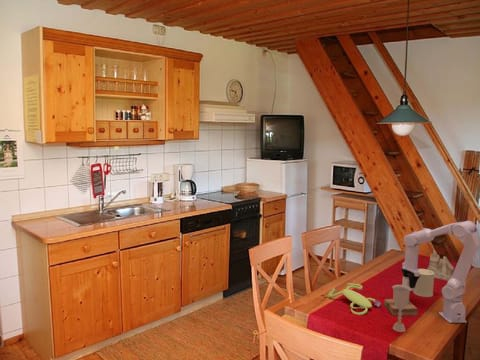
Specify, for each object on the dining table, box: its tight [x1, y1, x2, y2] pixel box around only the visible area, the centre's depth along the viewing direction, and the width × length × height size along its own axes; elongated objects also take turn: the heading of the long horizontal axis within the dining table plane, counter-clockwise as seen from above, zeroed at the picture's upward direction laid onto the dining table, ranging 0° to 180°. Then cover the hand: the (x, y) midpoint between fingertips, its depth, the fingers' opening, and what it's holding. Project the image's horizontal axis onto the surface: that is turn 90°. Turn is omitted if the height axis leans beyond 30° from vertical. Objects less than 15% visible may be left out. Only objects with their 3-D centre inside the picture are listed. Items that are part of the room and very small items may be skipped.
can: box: [413, 268, 435, 298], centre depth 216 cm, size 9×9×12 cm
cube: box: [401, 276, 417, 292], centre depth 205 cm, size 5×5×5 cm
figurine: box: [327, 282, 382, 316], centre depth 205 cm, size 18×27×6 cm
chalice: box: [392, 284, 411, 333], centre depth 178 cm, size 7×7×18 cm
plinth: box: [383, 298, 418, 316], centre depth 197 cm, size 11×11×3 cm
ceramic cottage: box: [426, 250, 455, 282], centre depth 244 cm, size 16×16×15 cm
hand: (409, 285), depth 205 cm, fingers closed on cube, 5 cm apart
